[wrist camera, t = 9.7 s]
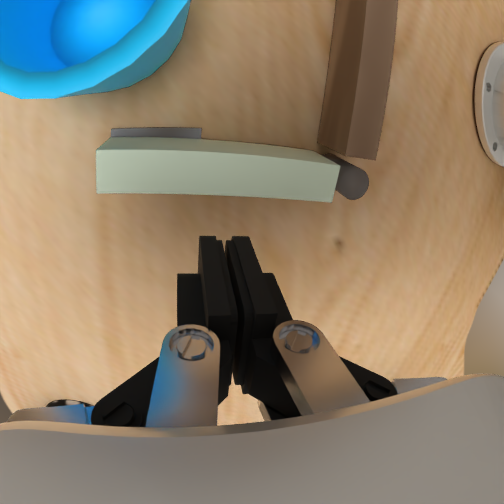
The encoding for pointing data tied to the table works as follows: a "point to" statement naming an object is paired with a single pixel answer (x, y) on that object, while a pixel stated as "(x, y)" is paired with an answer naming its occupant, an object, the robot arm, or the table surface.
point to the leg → (213, 169)
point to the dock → (342, 90)
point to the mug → (84, 44)
